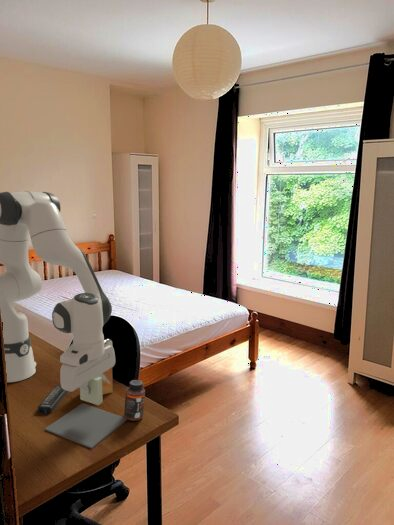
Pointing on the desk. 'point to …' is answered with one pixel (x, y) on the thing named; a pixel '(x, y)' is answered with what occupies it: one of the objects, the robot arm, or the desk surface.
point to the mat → (86, 425)
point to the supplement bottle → (134, 401)
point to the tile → (93, 391)
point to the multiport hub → (52, 400)
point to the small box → (107, 381)
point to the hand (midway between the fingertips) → (90, 391)
